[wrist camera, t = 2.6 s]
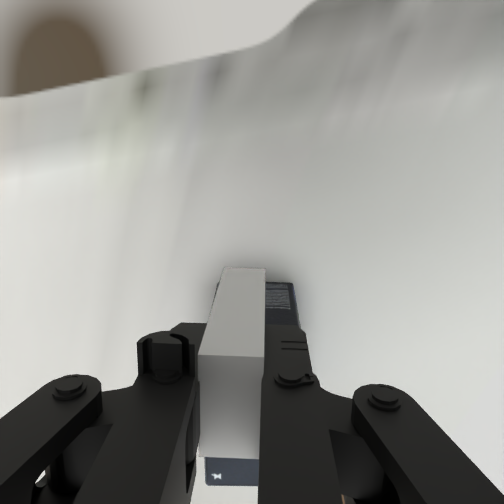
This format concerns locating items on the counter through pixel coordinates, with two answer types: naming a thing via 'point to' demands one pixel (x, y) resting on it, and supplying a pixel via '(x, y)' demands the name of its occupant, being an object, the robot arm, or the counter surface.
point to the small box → (247, 470)
